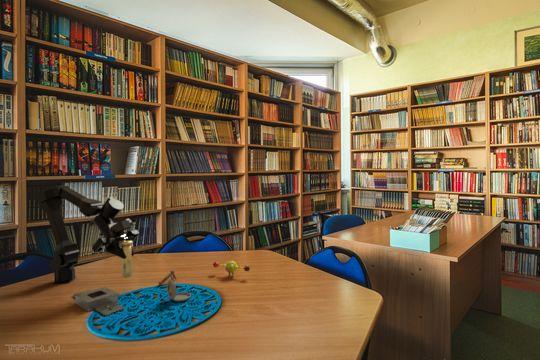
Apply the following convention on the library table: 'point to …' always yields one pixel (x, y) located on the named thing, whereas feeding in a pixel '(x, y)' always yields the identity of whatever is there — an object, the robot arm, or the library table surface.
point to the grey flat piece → (98, 300)
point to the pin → (127, 261)
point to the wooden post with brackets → (167, 278)
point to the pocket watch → (172, 292)
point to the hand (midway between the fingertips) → (129, 256)
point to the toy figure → (231, 267)
